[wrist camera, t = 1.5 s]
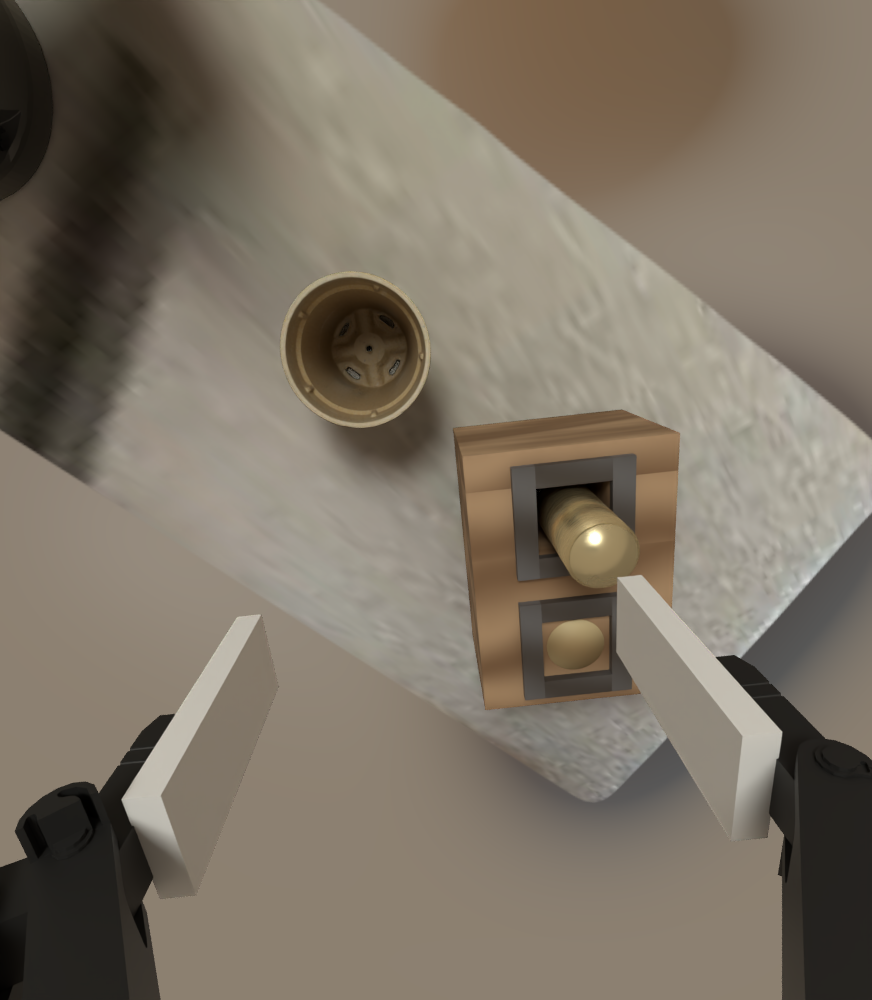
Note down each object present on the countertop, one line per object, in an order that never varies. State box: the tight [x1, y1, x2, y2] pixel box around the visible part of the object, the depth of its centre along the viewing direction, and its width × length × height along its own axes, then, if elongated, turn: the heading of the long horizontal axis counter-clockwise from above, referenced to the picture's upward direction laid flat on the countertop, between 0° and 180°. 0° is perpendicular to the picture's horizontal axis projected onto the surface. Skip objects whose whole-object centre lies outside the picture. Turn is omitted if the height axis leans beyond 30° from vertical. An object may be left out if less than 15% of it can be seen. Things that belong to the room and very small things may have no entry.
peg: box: [537, 484, 640, 588], centre depth 33 cm, size 4×4×8 cm
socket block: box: [453, 410, 680, 710], centre depth 41 cm, size 20×14×11 cm
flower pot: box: [280, 271, 431, 428], centre depth 36 cm, size 9×9×9 cm
